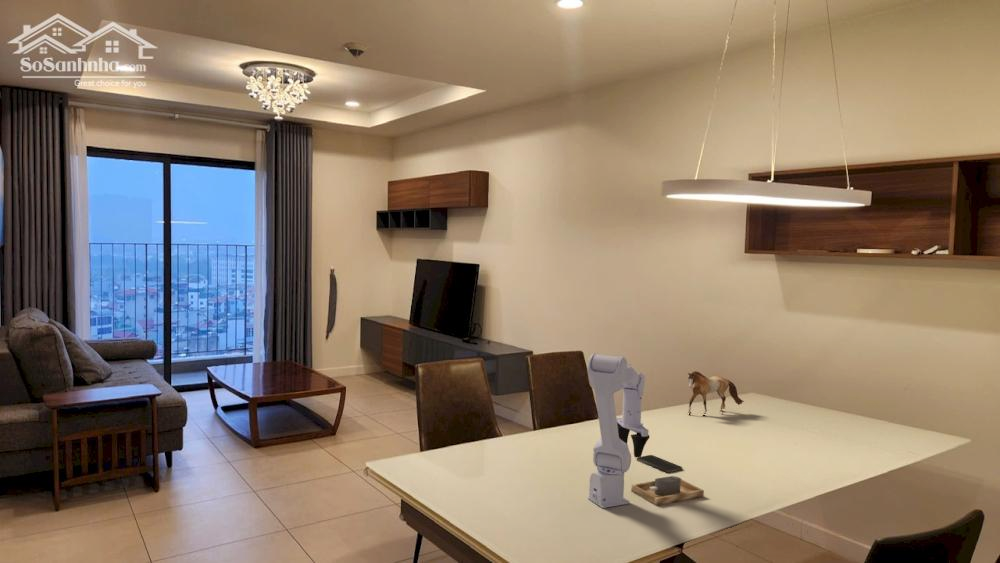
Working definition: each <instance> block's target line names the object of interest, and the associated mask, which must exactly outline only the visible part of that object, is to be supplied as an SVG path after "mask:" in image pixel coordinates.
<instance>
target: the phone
mask: <svg viewBox="0 0 1000 563" xmlns="http://www.w3.org/2000/svg"><path fill="white" fill-rule="evenodd" d="M636 461H637V462H639V463H641V464H643V465H646V466H648V467H650V466H651V468H652V469H655V470H657V469H658V470H657V471H660V472H662V473H664V472H665V473H664V474H671V472H672V473H676V471H677V472H681V471H683V467H682V465H681V466H680V465H678V464H675V463H673V462H672V461H668V460H666V459H664V458H661V457H658V456H656V455H653V454H648V455H644V456H641V457H636Z"/></svg>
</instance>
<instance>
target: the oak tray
mask: <svg viewBox="0 0 1000 563" xmlns="http://www.w3.org/2000/svg"><path fill="white" fill-rule="evenodd" d="M652 486H655V480H654V481H647V482H640V483H635V484H631V492H632V493H634V494H635V495H637V496H638V497H640V498H642V499H643V500H646V501H648V502H649V503H651V504H652V505H654V506H662V505H667V504H673V503H678V502H679V503H680V502H684V501H685V502H686V501H690V500H695V499H701V498H704V494H705V493H704V491H705V490H704V489H701V488H700V487H697V486H695V485H694V484H692V483H689V482H688V481H685V480H683V479H681V487H680V493H678V494H673V495H667V496H659V495H656V494H655V490H653V491H652V490H650V489H649V487H652Z"/></svg>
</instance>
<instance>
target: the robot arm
mask: <svg viewBox="0 0 1000 563" xmlns="http://www.w3.org/2000/svg"><path fill="white" fill-rule="evenodd" d="M586 370H587V377H588V383H589V386H590V387H591V388H592V389H593V391H594V394H595V401H596V402H595V403H596V409H597V416H598V417H597V418H598V423H599V424H598V425H599V431H600V437H601V438H599V439H598V440H596V441H595V444H594V446H593V449H592V450H593V454H592V455H593V457H592V462H593V464H594V466H595V467H596V471H595V472H592V473H591V474H590V478H589V488H588V489H589V495H588V496H587V500H590V501H591V502H593V503H594V504H596V505H597V506H599V507H600V508H602V509H606V508H612V507H615V506H622V505H628V504H630V500H628V499H626V498H624V489H625V488H624V487H625V473H627V472H628V471H629V470H630V467H631V463H632V453H631V452H630V448H629V445H628V439H629V434H630V431H631V432H634V433H635V434H630V437H631V439H632V444H633V445H632V446H633V456H634V458H638V457H642V455H643V451H644V448H645V447H646V446H645V445H646V444H647V442H648V441H649V439H650V435H649V429H647V428H646V427H645V426H644V423H643V422H641V421H642V398H643V396H644V389H645V385H646V376H645V375H644V374H643V373H642V372H637V371H636V369H635V368H633V367H632V365H631V363H628V361H627V358H626V357H625V356H616V355H615V356H614V355H606V354H605V355H604V354H598V353H592V354H591V355H590V357H589V358H588V362H587V368H586ZM619 391H622V414H621V416H622V417H617V413H616V403H615V395H614V394H615V393H617V392H619Z"/></svg>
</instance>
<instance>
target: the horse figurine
mask: <svg viewBox="0 0 1000 563" xmlns="http://www.w3.org/2000/svg"><path fill="white" fill-rule="evenodd" d="M687 374H688V377H687V378H688V381H689V383H688V384H689V385H688V387H689V389H691V390H692V393H691V397H690V399H689V403H688V404H689V405H688V409H687V411H688V412H687V414H688V413H689V414H691V415H692V411H691V409H692V408H691V407H692V404H693V402H694V400H695V399H696V398H697V397H698V396H699V395H701V396H702V400H703V404H702V405H703V406H704V411H703V413H702V414H706V415H707V411H708V409H707V394H713V393H717V395H718V396H719V397H720V398H721V405H720V410H719V413H720V412H723V413H724V411H723V410H722V409H726V403H725V402H726V395H725V392H726V391H727V389H728V393H729V394H730V397H731V398H732V399H733V400H734V402H735V403H736V404H737V405H738V406H741V405H742V404H743V403H744V402H745V401H744V400H743V399H742V398H740V397H739V396H738V389H737V387H736V385H735V384H734V383H733V382H732V381H731V380H729V379H727V378H725V377H722V376H720V375H714V376H711V377H706V376H705V375H703V374H702V373H701V372H699V371H697V370H696V371H693V372H691V373H689V372H688V373H687Z"/></svg>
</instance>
